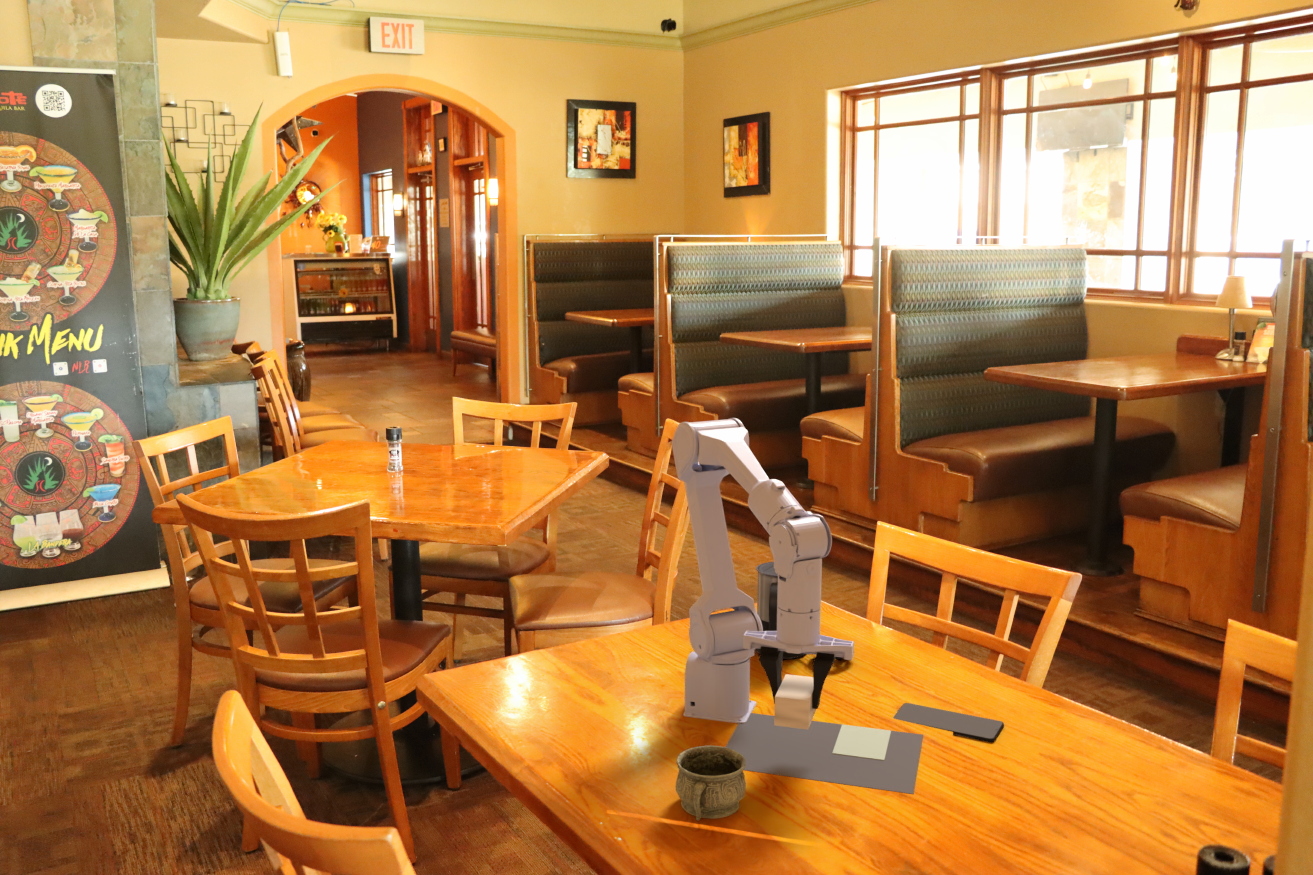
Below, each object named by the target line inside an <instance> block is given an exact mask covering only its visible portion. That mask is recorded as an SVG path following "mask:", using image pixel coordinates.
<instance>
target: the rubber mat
mask: <svg viewBox="0 0 1313 875" xmlns="http://www.w3.org/2000/svg"><path fill="white" fill-rule="evenodd" d="M774 717H775V715H770V714H763V713H753V712H752V713H751V714H750V716H749V718H748V720H747V722H746V723H744V724H742V723H737V725H736V727H735V729H734V731H732V732H733V733H732V734H731V736H730V738H729V740H728V741H727V744H726V745H725V746H724V747H726V748H730V749H733V750H735V751H737V752H738V753H740V754H741V755H743V757H744V758H745V760H746V766H745V768H744V769H743V771H749V772H754V773H761V774H769V775H776V776H783V777H790V778H798V779H802V780H803V779H804V780H810V781H811V780H812V781H818V782H825V783H833V784H840V785H846V786H853V787H859V788H860V787H861V788H865V789H866V788H868V789H874V790H881V791H888V792H896V793H902V794H909V795H915V794H914V793H915V787H916V782H917V776H918V771H919V764H920V757H921V754H922V753H921V751H922V747H923V740H924V734H921V733H915V732H914V733H913V732H904V731H898V730H897V731H896V730H890V729H884V728H883V729H882V728H873V727H867V726H866V727H865V726H857V725H851V724H850V725H848V724H843V723H842V724H841V723H834V722H826V721H825V722H824V721H818V720H812V722H811V724H810V727H809V730H807V729H799V728H791V727H783V726H775V725H774Z"/></svg>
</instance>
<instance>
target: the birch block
mask: <svg viewBox="0 0 1313 875" xmlns="http://www.w3.org/2000/svg"><path fill="white" fill-rule="evenodd" d="M813 687H814V684H813V677H812V676H806V675H797V674H795V675H794V674H788V673H787V674H786V673H785V675H784V677H783V678H782V683H781V685H780V687H779V689H778V691H777V693H776V695H775V704H774V716H775V717H774V725H775V726H783V727H791V728H799V729H807V730H809V727H810V724H811V722H812V721H813V719H814V716H815V713H816V711H817V709H812V697H813Z"/></svg>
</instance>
